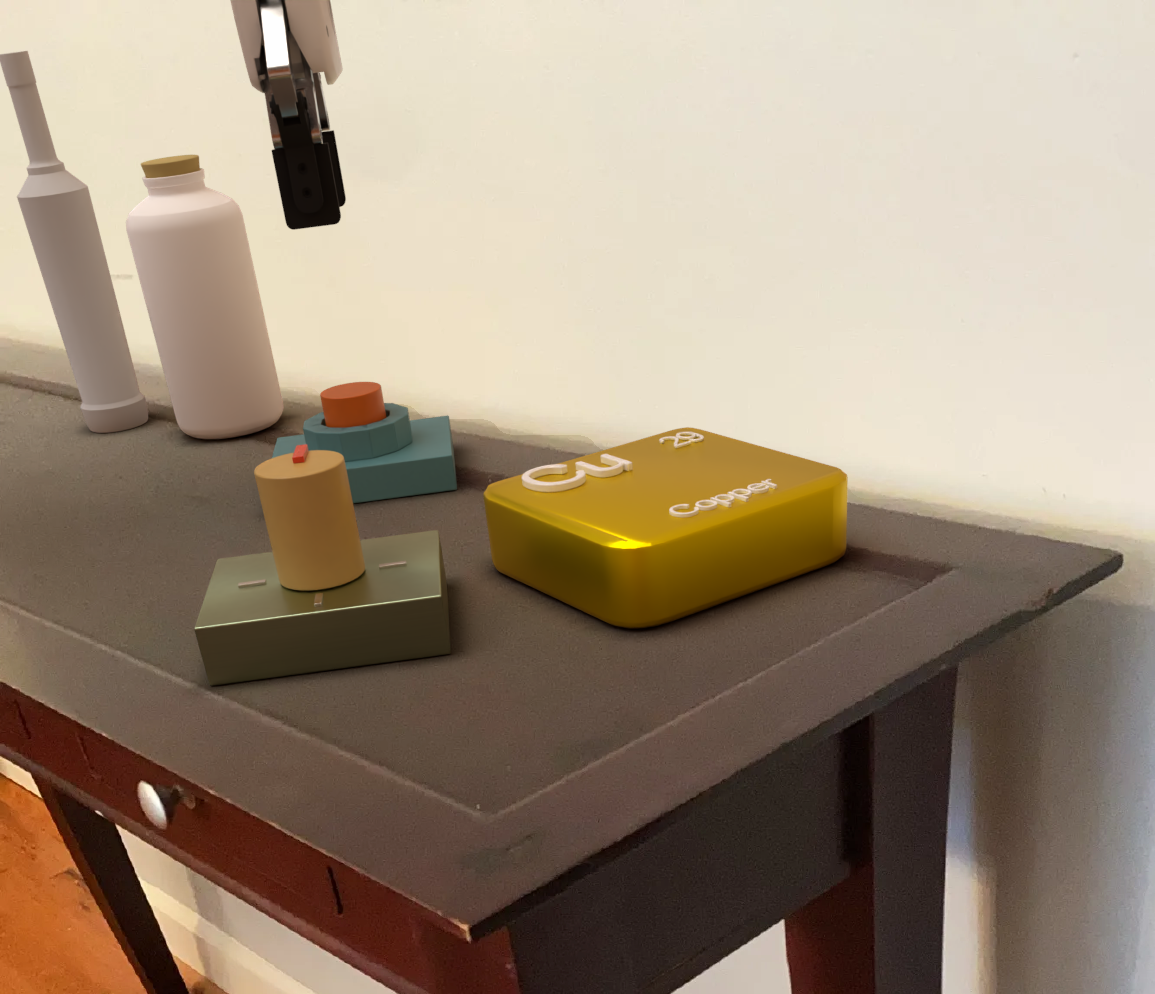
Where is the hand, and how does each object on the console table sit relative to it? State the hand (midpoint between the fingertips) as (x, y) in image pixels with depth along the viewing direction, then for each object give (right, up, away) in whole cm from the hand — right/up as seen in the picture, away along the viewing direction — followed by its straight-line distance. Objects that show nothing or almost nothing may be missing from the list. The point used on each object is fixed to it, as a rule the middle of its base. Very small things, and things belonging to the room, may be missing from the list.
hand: (317, 214), depth 85 cm
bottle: (-22, 0, +29) cm, 36 cm away
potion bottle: (-11, -3, +25) cm, 27 cm away
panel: (+3, -29, -12) cm, 31 cm away
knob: (+3, -26, -14) cm, 30 cm away
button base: (+2, -12, +10) cm, 16 cm away
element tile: (+21, -24, -8) cm, 33 cm away
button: (+1, -10, +7) cm, 12 cm away
